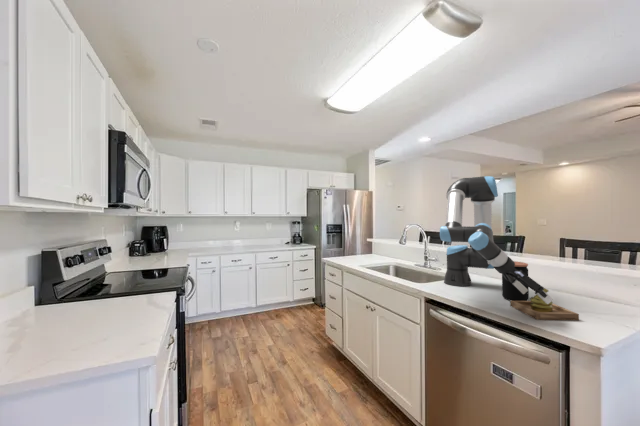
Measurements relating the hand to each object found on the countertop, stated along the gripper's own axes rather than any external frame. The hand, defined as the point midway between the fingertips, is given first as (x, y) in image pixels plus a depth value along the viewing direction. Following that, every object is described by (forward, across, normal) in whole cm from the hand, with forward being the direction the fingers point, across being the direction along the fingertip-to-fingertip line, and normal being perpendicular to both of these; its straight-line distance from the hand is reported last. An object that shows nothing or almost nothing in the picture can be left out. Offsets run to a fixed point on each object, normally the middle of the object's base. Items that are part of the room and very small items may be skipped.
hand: (537, 296), depth 114 cm
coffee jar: (+7, -19, -3) cm, 21 cm away
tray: (+6, 0, -3) cm, 7 cm away
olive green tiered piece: (+6, 0, -3) cm, 6 cm away
